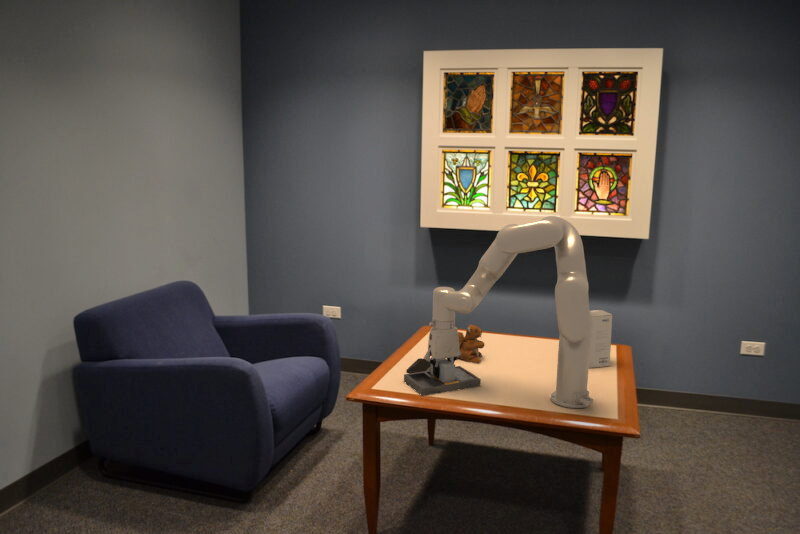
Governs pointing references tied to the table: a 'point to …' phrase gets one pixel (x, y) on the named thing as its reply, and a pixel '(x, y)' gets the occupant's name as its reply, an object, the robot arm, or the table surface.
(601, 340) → the grey carton box
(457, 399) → the table surface
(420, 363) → the phone
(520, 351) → the table surface
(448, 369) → the gray rectangular block
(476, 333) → the stuffed squirrel
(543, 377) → the table surface
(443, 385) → the gray divided tray
